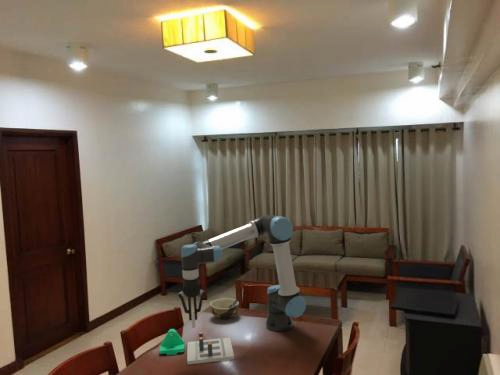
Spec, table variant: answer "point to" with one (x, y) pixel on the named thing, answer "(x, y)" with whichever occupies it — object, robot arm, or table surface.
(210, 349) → the breaker
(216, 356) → the panel
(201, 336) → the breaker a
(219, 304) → the bowl
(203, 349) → the breaker
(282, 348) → the table surface
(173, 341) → the camera mount
